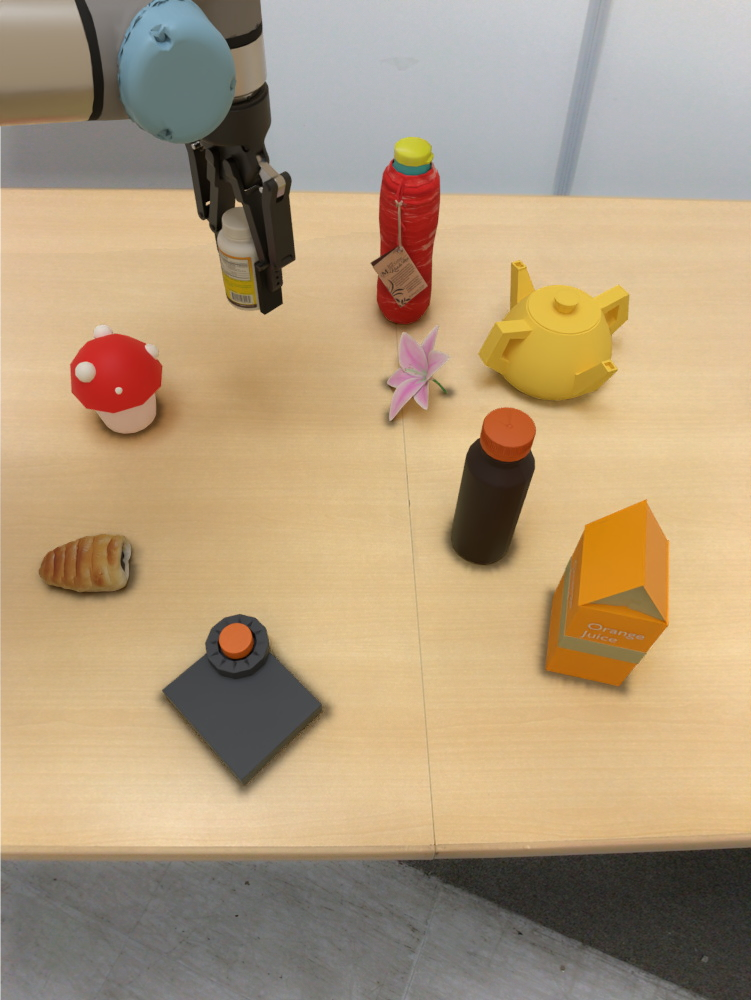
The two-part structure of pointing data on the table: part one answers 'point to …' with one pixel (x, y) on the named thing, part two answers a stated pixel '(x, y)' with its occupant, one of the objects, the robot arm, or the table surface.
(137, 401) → the mushroom
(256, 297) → the supplement bottle
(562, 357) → the teapot
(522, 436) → the vinegar
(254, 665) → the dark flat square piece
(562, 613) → the orange juice
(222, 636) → the button
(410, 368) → the lily
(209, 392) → the table surface
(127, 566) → the pastry
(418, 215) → the water bottle
